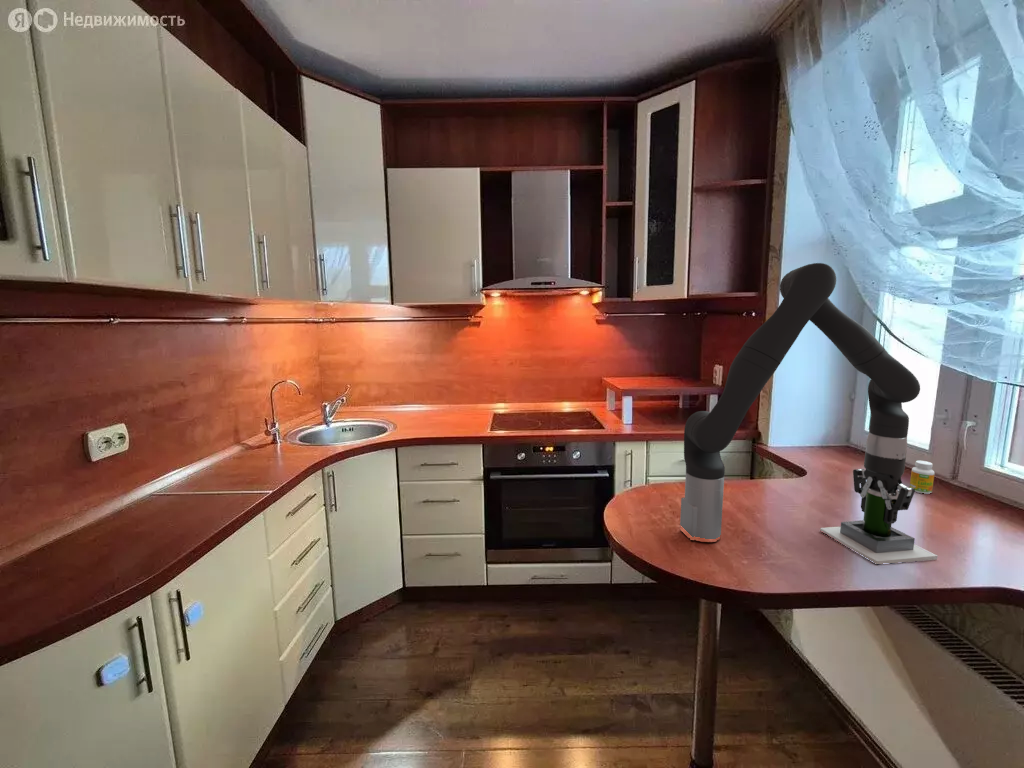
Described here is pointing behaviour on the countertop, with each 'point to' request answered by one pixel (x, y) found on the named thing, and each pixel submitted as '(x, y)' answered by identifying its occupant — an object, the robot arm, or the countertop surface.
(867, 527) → the beer can
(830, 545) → the countertop surface
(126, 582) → the countertop surface
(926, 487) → the supplement bottle
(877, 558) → the holder plate
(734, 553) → the countertop surface
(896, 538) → the can collar
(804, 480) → the countertop surface
